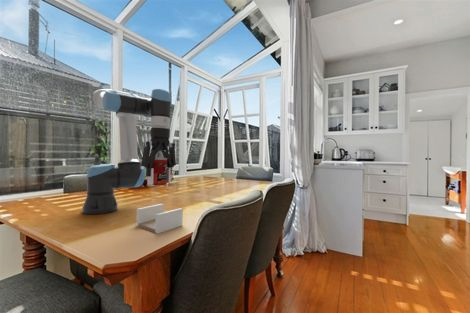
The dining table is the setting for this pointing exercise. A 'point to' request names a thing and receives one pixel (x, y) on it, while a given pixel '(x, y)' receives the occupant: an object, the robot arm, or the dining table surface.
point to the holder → (158, 218)
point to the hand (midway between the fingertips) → (159, 183)
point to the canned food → (159, 171)
